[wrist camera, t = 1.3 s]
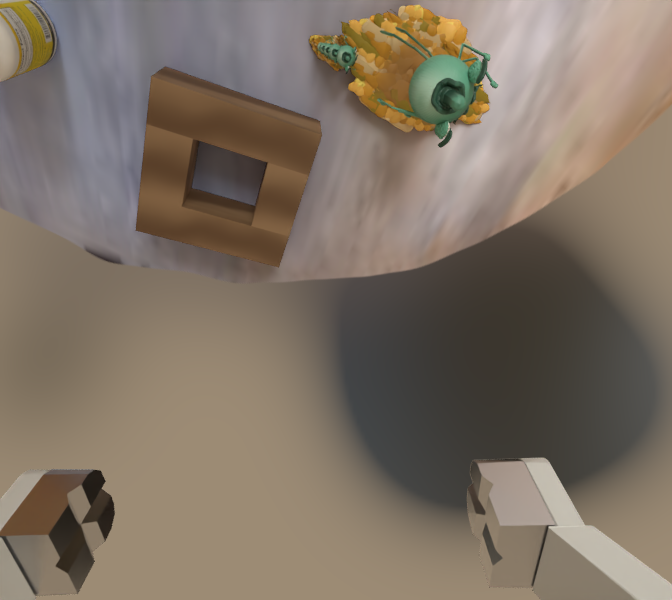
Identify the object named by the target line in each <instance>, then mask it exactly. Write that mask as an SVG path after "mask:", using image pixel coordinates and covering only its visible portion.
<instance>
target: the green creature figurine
mask: <svg viewBox="0 0 672 600" xmlns="http://www.w3.org/2000/svg"><path fill="white" fill-rule="evenodd" d="M390 10H391V9H390ZM387 12H388V11H387ZM387 12H386V13H383V15H380V14H378V13H377V14H376V15H372V16H371V17H370V19H368V18H365V19H361V20H360V21H359V22H358V21H357V20H351V21H349V20H348V21H349V23H350V24H348V23H344V22H341V23H342V33H343V34H344V36H345V37H344V36H342V35H340V37H339V36H337V35H335V36H334V37H333V36H330V35H329V36H320V35H313V36H310V39H309V43H311V46H312V49H313V51H314V52H315V53H316V55H317V57H318V59H320V60H322V61H326V62H327V63H328V64H329V65H330V66H331V67H332V68H333V69H334V70H336V71H339V70H338V69H344V68H345V71H346V74H347V72H348V70H349V69H351V73H352V74H353V75H354V76H355V77H356V79H355V82H354V81H353V82H352V83H350V84H349V87H348V89H349V90H350V91H353V92H354V93H355V94H356V95H358V96H359V100H360V102H361V103H362V104H364V105H365V106H366V107H367V108H369V109H370V110H371V111H372V112H373V113H374V114H376V115H377V116H378V117H381V118H383V120H384V119H386V120H387V121H388V122H389V123H391V124H392V125H393V126H395V127H397V128H398V129H400V130H402V131H404V132H410V131H411V130H412V129H413V128H416V130H417V131H422V130H425V131H429V130H430V131H432V130H433V129H434V128H435V134H436V135H437V136H438V137H439V138H440V139H443V137H445V136H446V138H445V139H444V140H443V141H442V142H441V143H439V144H438V146H439V147H443V146H444V145H446V144H447V143H448V142H449V140H450V139H451V137H452V131H451V128H450V124H449V123H451V122H453V123H455V122H456V121H457V120H461V121H463V122H464V123H466V124H472V123H481V121H480V120H479V119H480V118H481V116H482V114H483V113H485V112H486V111H488V110H489V105H488V104H486V103H490V102H489V99H488V95H487V94H486V93H485V92H484V91H483V88H482V87H483V84H482V79H483V78H484V76H485V74H486V76H487V77H488V79H489V80H490V82H491V83H490V85H491V86H492V87H494V88H497V87H498V84H497V83H496V82H495V81H493V80H492V78H491V77H490V75H489V74H488V72H487V61H489V60H490V55H489V54H487V53H482V52H480V51H478V50H476V49H474V48H472V47H471V44H470V42H469V41H468V39H467V38H466V34H467V29H466V28H465V27H463V26H462V24H461V22H460V21H459V20H456V19H446V18H444V17H441V16H435V15H434V14H433V13H432V12H431V11H430V10H427V9H425V8H423V7H421V6H420V5H415V6H412V5H410V6H406V7H405V6H402V7H400V9H399V12H398V16H396V15H394V14H392V13H390V12H388V13H389V14H388V13H387ZM393 12H394V11H393ZM394 13H395V12H394ZM471 50H472V51H474V52H476V53H478V54H479V55H481V56H483V57H484V59H483V61H482V62H481V61H479V59H478V57H477V56H476V55H474V54H473V53H471ZM349 67H350V68H349ZM455 125H456V124H455Z"/></svg>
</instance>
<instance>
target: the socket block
mask: <svg viewBox="0 0 672 600" xmlns="http://www.w3.org/2000/svg"><path fill="white" fill-rule="evenodd" d="M321 137H322V132H321V125H320V121H318V120H315V119H313V118H310V117H307V116H304V115H301V114H298V113H296V112H293V111H290V110H287V109H284V108H281V107H279V106H276V105H273V104H270V103H267V102H264V101H262V100H259V99H256V98H253V97H250V96H247V95H245V94H242V93H239V92H236V91H233V90H230V89H228V88H225V87H222V86H219V85H216V84H213V83H211V82H208V81H205V80H202V79H199V78H196V77H194V76H191V75H188V74H185V73H182V72H179V71H177V70H174V69H171V68H168V67H164V68H163V69H161V70H160V71H158V72H157V73H155V74H154V75H152V76H151V83H150V93H149V103H148V113H147V123H146V133H145V143H144V153H143V163H142V173H141V183H140V193H139V203H138V213H137V222H136V231H140V232H144V233H148V234H151V235H155V236H159V237H163V238H167V239H171V240H175V241H179V242H182V243H186V244H190V245H194V246H198V247H202V248H206V249H210V250H214V251H217V252H221V253H225V254H229V255H233V256H237V257H241V258H245V259H248V260H252V261H256V262H260V263H264V264H268V265H272V266H276V267H279V265H280V262H281V259H282V256H283V253H284V250H285V247H286V244H287V241H288V238H289V235H290V231H291V228H292V225H293V222H294V219H295V216H296V213H297V210H298V207H299V204H300V201H301V198H302V195H303V192H304V189H305V186H306V182H307V179H308V176H309V173H310V170H311V167H312V164H313V161H314V158H315V155H316V152H317V149H318V146H319V143H320V140H321ZM199 141H201V142H205V143H208V144H211V145H214V146H217V147H220V148H223V149H227V150H230V151H233V152H236V153H239V154H242V155H245V156H249V157H252V158H255V159H258V160H261V161H264V162H267V163H266V167H265V170H264V174H263V178H262V182H261V186H260V189H259V193H258V197H257V201H256V204H255V206H252V205H249V204H246V203H242V202H239V201H235V200H232V199H228V198H225V197H221V196H218V195H214V194H211V193H208V192H204V191H201V190H197V189H194V188H192V182H193V176H194V170H195V164H196V158H197V153H198V147H199Z"/></svg>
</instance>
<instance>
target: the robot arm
mask: <svg viewBox="0 0 672 600" xmlns="http://www.w3.org/2000/svg"><path fill="white" fill-rule="evenodd" d="M470 475H471V478H472V481H473V484H471V485H470V486H469V487H468V492H467V508H468V516H469V520H470V525H471V529H472V532H473V534H474V536H476V537H477V538H478V539H479V540H480V541H481V546H480V552H479V556H480V559H481V562H482V565H483V569H484V572H485V575H486V579H487V582H488V585H489V587H508V588H511V587H512V588H533V591H534V593H535V594H536V595H537V596H538V597H539V598H540V599H541V600H672V584H671V583H669V582H668V581H667V580H665V579H664V578H663V577H661V576H660V575H659V574H657V573H656V572H655V571H653V570H652V569H650V568H649V567H648V566H646V565H645V564H644V563H642V562H641V561H640V560H638V559H637V558H635V557H634V556H633V555H631V554H630V553H629V552H628V551H626V550H625V549H624V548H622V547H621V546H620V545H618V544H617V543H615V542H614V541H613V540H611V539H610V538H609V537H607V536H606V535H605V534H603V533H602V532H601V531H599V530H598V529H597V528H595V527H594V526H585V525H584V523H583V521H582V519H581V517H580V516H579V514H578V512H577V510H576V509H575V507H574V505H573V503H572V502H571V500H570V498H569V497H568V495H567V493H566V491H565V489H564V487H563V486H562V484H561V482H560V480H559V479H558V477H557V475H556V473H555V472H554V470H553V468H552V466H551V465H550V463H549V461H548V460H546V459H545V458H523V459H518V458H517V459H516V458H515V459H489V460H488V459H487V460H473V461H472V463H471V468H470ZM105 482H106V481H105V479H104V477H103V475H102V472H101V471H100V470H61V469H60V470H58V469H56V470H55V469H54V470H53V469H52V470H28V471H26V472H25V473H23V474H21V475H20V476H19V478H18V479H17V480H16V481H15V482H14V484H13V485H12V486H11V487H10V488H9V490H8V491H7V492H6V493H5V494H4V496H3V497H2V498H1V499H0V600H35V599H36V596H43V595H44V596H45V595H66V594H78V592H79V591H80V589H81V587H82V585H83V583H84V581H85V579H86V577H87V575H88V573H89V572H90V570H91V568H92V566H93V564H94V562H95V561H94V556H93V551H94V550H95V549H97V548H98V547H99V546H100V545H101V544H103V543H104V542H105V541H106V539H107V537H108V534H109V532H110V530H111V528H112V523H113V519H114V515H115V511H114V502H113V500H112V497H111V495H110V494H108V493H107V492H105V491H104V490H103V489H102V487H103V485H104V483H105Z"/></svg>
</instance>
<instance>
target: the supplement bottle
mask: <svg viewBox="0 0 672 600" xmlns="http://www.w3.org/2000/svg"><path fill="white" fill-rule="evenodd" d="M56 46H57V37H56V32H55V29H54V26H53V24H52V22H51V20H50V18H49V17H48V15H47V13H46V12H45V11H44V10H43V8H42V7H41V6H40V5H39V4H38V3H36V2H35V1H34V0H0V82H1V81H5V80H7V79H10V78H13V77H15V76H18V75H20V74H23V73H25V72H28V71H31V70H33V69H36V68H38V67H40V66H43V65H44V64H46V63H48V62H49V61H50V60H51V59H52V57H53V56H54V54H55V51H56Z"/></svg>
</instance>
